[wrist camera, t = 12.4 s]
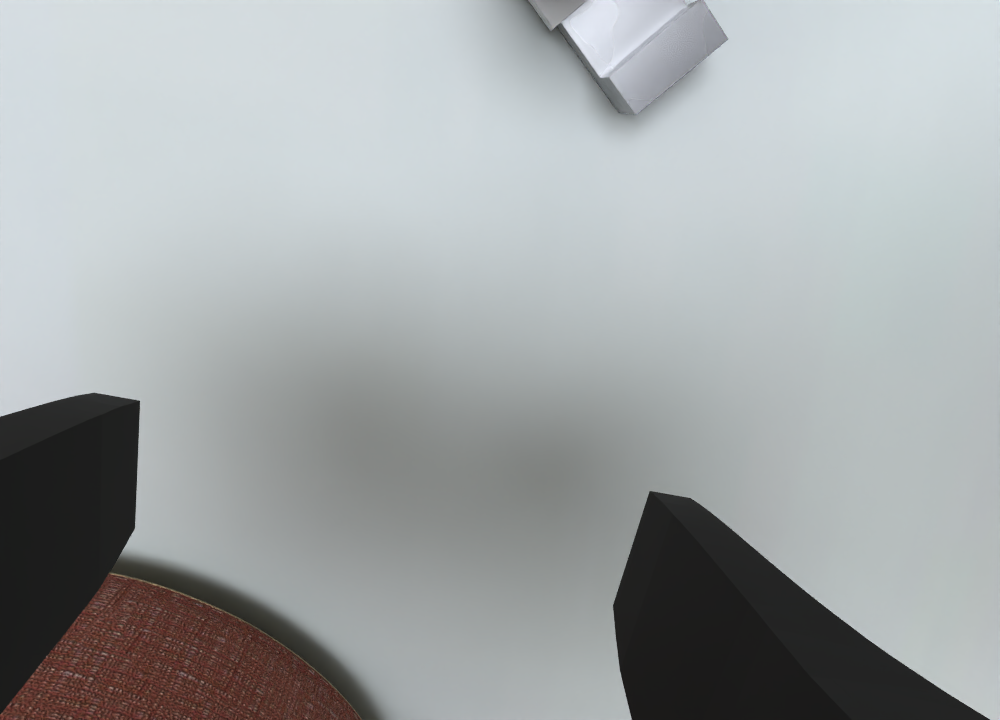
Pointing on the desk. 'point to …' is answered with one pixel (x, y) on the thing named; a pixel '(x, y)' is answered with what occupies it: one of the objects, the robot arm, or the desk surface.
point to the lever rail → (640, 45)
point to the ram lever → (555, 10)
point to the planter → (171, 665)
